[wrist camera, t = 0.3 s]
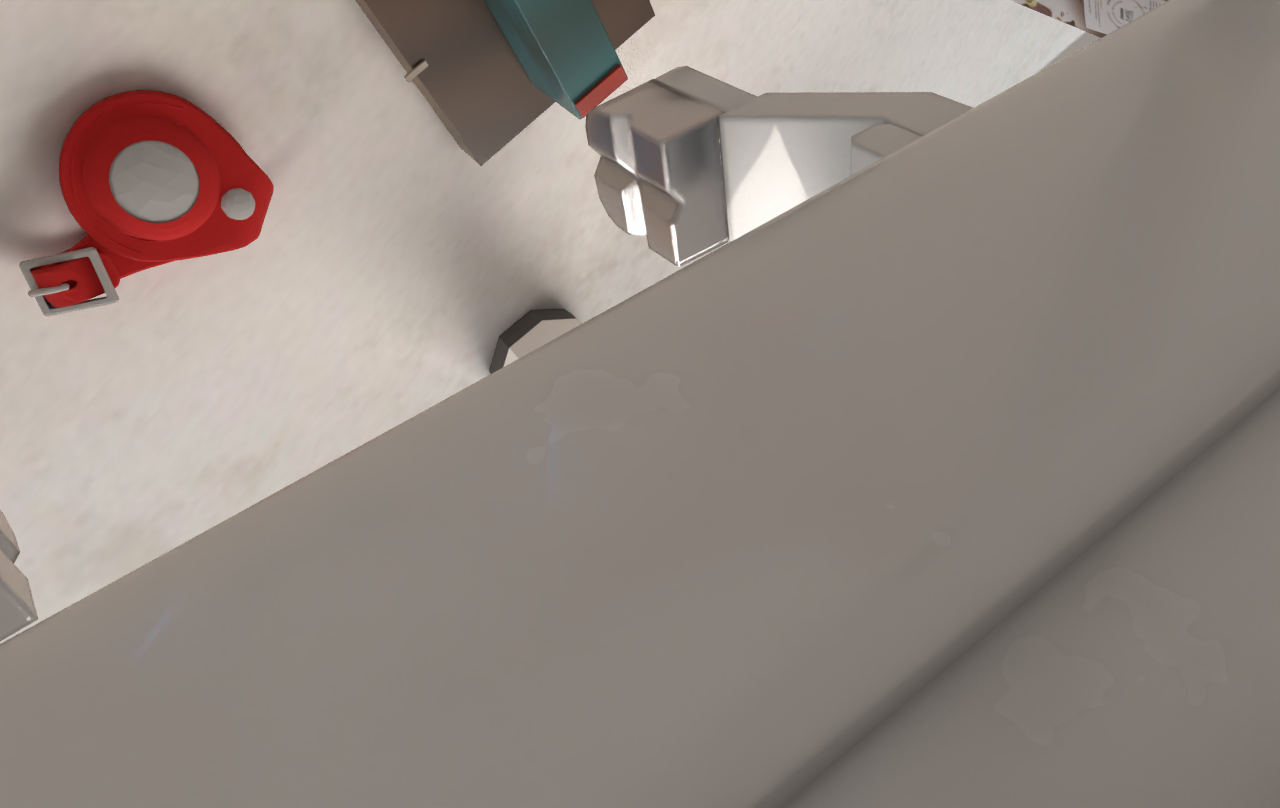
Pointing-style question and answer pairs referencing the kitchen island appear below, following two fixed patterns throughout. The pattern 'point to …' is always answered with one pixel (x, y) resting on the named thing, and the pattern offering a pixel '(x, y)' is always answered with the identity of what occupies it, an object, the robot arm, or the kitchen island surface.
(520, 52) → the teal rectangular block
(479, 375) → the kitchen island surface
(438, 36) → the brown wooden base board
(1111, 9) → the coffee box
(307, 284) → the kitchen island surface
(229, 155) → the tracker holder
